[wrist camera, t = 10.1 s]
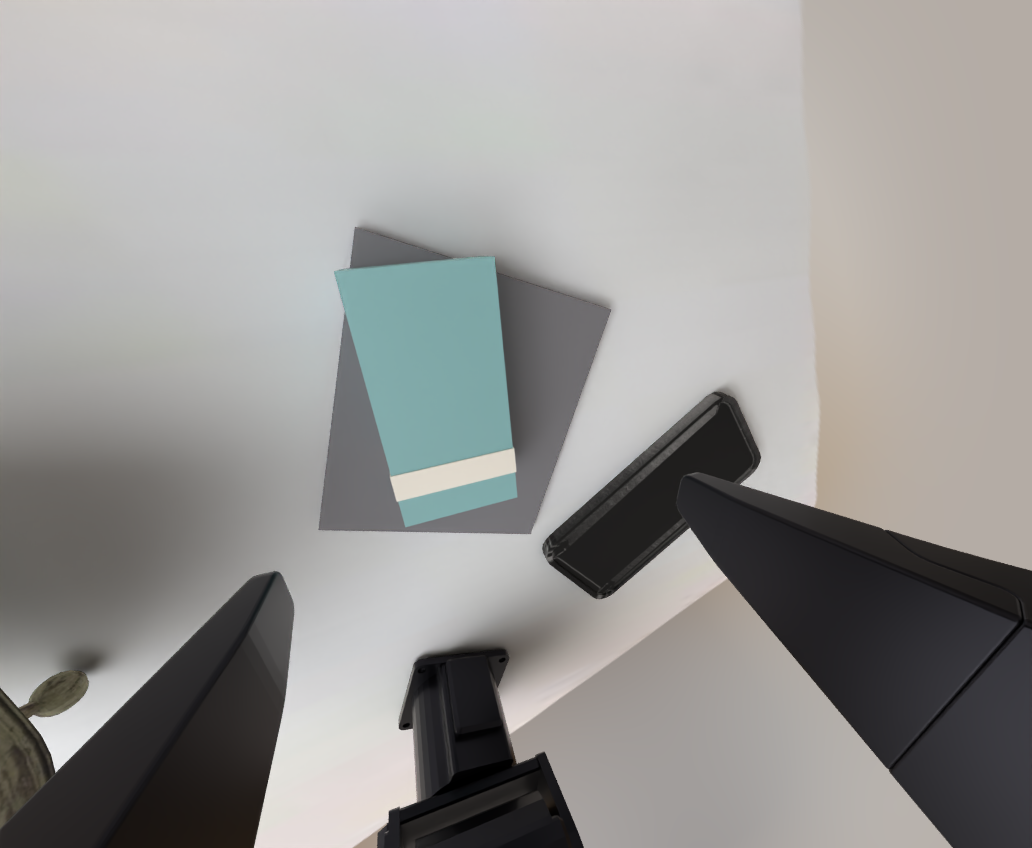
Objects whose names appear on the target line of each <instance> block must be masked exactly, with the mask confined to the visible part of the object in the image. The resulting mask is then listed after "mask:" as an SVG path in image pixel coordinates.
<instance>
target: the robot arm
mask: <svg viewBox="0 0 1032 848" xmlns="http://www.w3.org/2000/svg"><path fill="white" fill-rule="evenodd" d="M676 504H677V508H678V511H679V512H680V514H681V515H682V517H683V518H684V519H685V521H686V522H687V524H688V525H689V527H690V528H691V529H692V531H693V532H694V534H695V535H696V537H697V538H698V540H699V541H700V542H701V544H702V545H703V547H704V548H705V550H706V551H707V552H708V554H709V555H710V557H711V558H712V559H713V561H714V562H715V563H716V565H717V566H718V567H719V568H720V570H721V571H722V572H723V573H724V574H725V576H726V577H727V578H728V579H729V580H730V582H731V583H732V584H733V585H734V586H735V588H736V589H737V590H738V591H739V592H740V594H741V595H742V596H743V597H744V598H745V600H746V601H747V602H748V603H749V604H750V605H751V607H752V608H753V609H754V610H755V611H756V613H757V614H758V615H759V616H760V617H761V619H762V620H763V621H764V622H765V623H766V625H767V626H768V627H769V628H770V629H771V631H772V632H773V633H774V634H775V635H776V636H777V638H778V639H779V640H780V641H781V642H782V644H783V645H784V646H785V647H786V648H787V650H788V651H789V652H790V653H791V654H792V656H793V657H794V658H795V659H796V660H797V661H798V663H799V664H800V665H801V666H802V668H803V669H804V670H805V671H806V672H807V673H808V675H809V676H810V677H811V678H812V679H813V681H814V682H815V683H816V684H817V686H818V687H819V688H820V689H821V690H822V691H823V693H824V694H825V695H826V696H827V697H828V699H829V700H830V701H831V702H832V703H833V705H834V706H835V707H836V708H837V709H838V711H839V712H840V713H841V714H842V715H843V716H844V718H845V719H846V720H847V721H848V722H849V724H850V725H851V726H852V727H853V728H854V730H855V731H856V732H857V733H858V735H859V736H860V737H861V738H862V739H863V740H864V742H865V743H866V744H867V745H868V746H869V748H870V749H871V750H872V751H873V752H874V754H875V755H876V756H877V757H878V758H879V760H880V761H881V762H882V763H883V764H884V765H885V767H886V768H888V769H889V772H890V773H891V774H892V776H893V777H894V778H895V779H896V780H897V782H898V783H899V784H900V785H901V786H902V788H903V789H904V790H905V791H906V792H907V794H908V795H909V796H910V797H911V798H912V799H913V801H914V802H915V803H916V804H917V805H918V807H919V808H920V809H921V810H922V812H923V813H924V814H925V815H926V816H927V817H928V819H929V820H930V821H931V822H932V824H933V825H934V826H935V827H936V828H937V829H938V831H939V832H940V833H941V834H942V835H943V837H944V838H945V839H946V840H947V841H948V843H949V844H950V845H951V846H952V847H953V848H1032V571H1030V570H1027V569H1023V568H1019V567H1015V566H1012V565H1008V564H1004V563H1001V562H996V561H993V560H989V559H985V558H982V557H978V556H974V555H971V554H968V553H964V552H960V551H957V550H953V549H950V548H946V547H942V546H939V545H936V544H932V543H929V542H926V541H922V540H919V539H915V538H912V537H909V536H906V535H902V534H899V533H896V532H893V531H889V530H883V529H882V528H879V527H876V526H872V525H869V524H866V523H863V522H860V521H856V520H853V519H850V518H847V517H843V516H840V515H836V514H834V513H830V512H827V511H824V510H820V509H817V508H814V507H811V506H807V505H804V504H801V503H798V502H794V501H791V500H788V499H785V498H781V497H778V496H775V495H772V494H768V493H765V492H762V491H758V490H755V489H752V488H749V487H745V486H742V485H739V484H736V483H732V482H729V481H726V480H723V479H719V478H716V477H713V476H709V475H706V474H703V473H692V474H688V475H685V476H683V478H682V479H681V482H680V487H679V491H678V496H677V501H676ZM293 620H294V603H293V600H292V597H291V595H290V593H289V590H288V588H287V586H286V583H285V581H284V579H283V576H282V575H281V574H280V573H279V572H277V571H273V572H269V573H265V574H261V575H256V576H254V577H252V578H251V579H249V580H248V581H247V582H246V583H245V584H244V585H243V586H242V587H241V588H240V589H239V590H238V591H237V592H236V593H235V594H234V595H233V596H232V597H231V598H230V599H229V600H228V601H227V602H226V603H225V604H224V605H223V606H222V607H221V608H220V609H219V610H218V611H217V612H216V613H215V614H214V615H213V616H212V617H211V618H210V619H209V620H208V621H207V622H206V623H205V624H204V625H203V626H202V627H201V628H200V629H199V630H198V631H197V632H196V633H195V634H194V635H193V636H192V637H191V638H190V639H189V640H188V641H187V642H186V643H185V644H184V645H183V646H182V647H181V648H180V649H179V650H178V651H177V652H176V653H175V654H174V655H173V656H172V657H171V658H170V659H169V660H168V661H167V662H166V663H165V664H164V665H163V666H162V667H161V668H160V669H159V670H158V671H157V672H156V673H155V674H154V675H153V676H152V677H151V678H150V679H149V680H148V681H147V682H146V683H145V684H144V685H143V686H142V687H141V688H140V689H139V690H138V691H137V692H136V693H135V694H134V695H133V696H132V697H131V698H130V699H129V700H128V701H127V702H126V703H125V704H124V705H123V706H122V707H121V708H120V709H119V710H118V711H117V712H116V713H115V714H114V715H113V716H112V717H111V718H110V719H109V720H108V721H107V722H106V723H105V724H104V725H103V726H102V727H101V728H100V729H99V730H98V731H97V732H96V733H95V734H94V735H93V736H92V737H91V738H90V739H89V740H88V741H87V742H86V743H85V744H84V745H83V746H82V747H81V748H80V749H79V750H78V751H77V752H76V753H75V754H74V755H73V756H72V757H71V758H70V759H69V760H68V761H67V762H66V763H65V764H64V765H63V766H62V767H61V768H60V769H59V770H58V771H57V772H56V773H55V774H54V775H53V776H52V777H51V778H50V779H49V780H48V781H47V782H46V783H45V784H44V785H43V786H42V787H41V788H40V789H39V790H38V791H37V792H36V793H35V794H34V795H33V796H32V797H31V798H30V799H29V800H28V801H27V802H26V803H25V804H24V805H23V806H22V807H21V808H20V809H19V810H18V811H17V812H16V813H15V814H14V815H13V816H12V817H11V818H10V819H9V820H8V821H7V822H6V823H5V824H4V825H3V826H2V827H1V828H0V848H254V844H255V840H256V835H257V830H258V826H259V821H260V816H261V812H262V807H263V802H264V798H265V793H266V788H267V784H268V779H269V774H270V770H271V765H272V760H273V756H274V751H275V746H276V742H277V737H278V732H279V728H280V723H281V718H282V713H283V708H284V702H285V695H286V687H287V678H288V668H289V659H290V649H291V639H292V629H293ZM508 660H509V656H508V652H507V650H495V651H486V652H478V653H469V654H461V655H452V656H444V657H435V658H427V659H421V660H418V661H416V662H415V663H414V665H413V668H412V672H411V676H410V679H409V683H408V687H407V691H406V694H405V698H404V702H403V706H402V709H401V713H400V717H399V729H400V730H407V729H413V738H414V756H415V774H416V791H417V803H414V804H412V805H409V806H406V807H404V808H401V809H400V807H397V808H395V809H392V810H390V811H389V823H387V825H386V826H385V827H384V828H383V829H382V830H381V831H380V832H378V844H377V846H378V847H377V848H584V847H583V844H582V841H581V839H580V836H579V833H578V831H577V828H576V826H575V823H574V821H573V819H572V816H571V814H570V811H569V809H568V807H567V804H566V802H565V800H564V797H563V795H562V792H561V790H560V787H559V785H558V783H557V780H556V778H555V776H554V773H553V771H552V768H551V766H550V763H549V761H548V759H547V756H546V754H545V752H541V753H539V754H537V755H535V757H534V758H531V759H529V760H526V761H524V762H521V763H518V764H517V763H516V759H515V755H514V751H513V747H512V743H511V740H510V735H509V732H508V728H507V724H506V720H505V716H504V712H503V708H502V704H501V700H500V696H499V692H498V689H497V688H498V686H499V683H500V681H501V678H502V675H503V673H504V670H505V668H506V665H507V663H508Z"/></svg>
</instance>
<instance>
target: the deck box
mask: <svg viewBox="0 0 1032 848" xmlns="http://www.w3.org/2000/svg"><path fill="white" fill-rule="evenodd" d="M334 274H335V277H336V281H337V284H338V288H339V291H340V295H341V299H342V302H343V306H344V309H345V313H346V316H347V320H348V324H349V327H350V331H351V334H352V338H353V342H354V345H355V349H356V352H357V356H358V359H359V363H360V367H361V370H362V374H363V377H364V381H365V384H366V388H367V392H368V395H369V399H370V402H371V406H372V410H373V413H374V417H375V420H376V424H377V427H378V431H379V435H380V438H381V442H382V445H383V449H384V452H385V456H386V460H387V463H388V467H389V470H390V480H391V483H392V487H393V490H394V494H395V497H396V501H397V502H398V503H399V506H400V510H401V513H402V517H403V521H404V524H405V527H409V526H412V525H416V524H420V523H424V522H427V521H431V520H435V519H438V518H442V517H446V516H450V515H453V514H457V513H461V512H465V511H468V510H472V509H476V508H479V507H483V506H487V505H491V504H494V503H498V502H502V501H505V500H509V499H513V498H517V487H516V476H515V472H516V461H515V451H514V447H513V445H512V434H511V424H510V413H509V403H508V392H507V382H506V371H505V361H504V351H503V340H502V330H501V319H500V309H499V298H498V288H497V277H496V267H495V256H478V257H467V258H456V259H446V260H435V261H424V262H414V263H403V264H392V265H382V266H371V267H360V268H350V269H341V270H338V271H335V272H334Z"/></svg>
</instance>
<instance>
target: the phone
mask: <svg viewBox="0 0 1032 848" xmlns="http://www.w3.org/2000/svg"><path fill="white" fill-rule="evenodd" d="M760 459H761V456H760V452H759V450H758V448H757V446H756V443H755V441H754V439H753V437H752V434H751V432H750V430H749V428H748V426H747V423H746V421H745V419H744V417H743V414H742V412H741V410H740V408H739V405H738V403H737V401H736V400H735V398H733V397H731V396H728V395H726V394H724V393H721V392H714V393H712V394H710V395H708V396H707V397H705V398H704V399H703V400H702V401H701V402H700V403H699V404H697V405H696V406H695V407H694V408H693V409H692V410H691V411H690V412H688V413H687V414H686V415H685V416H684V417H683V418H682V419H681V420H679V421H678V422H677V423H676V424H675V425H674V426H673V427H672V428H670V429H669V430H668V431H667V432H666V433H665V434H664V435H662V436H661V437H660V438H659V439H658V440H657V441H656V442H655V443H653V444H652V445H651V446H650V447H649V448H648V449H647V450H646V451H644V452H643V453H642V454H641V455H640V456H639V457H638V458H637V459H635V460H634V461H633V462H632V463H631V464H630V465H629V466H628V467H626V468H625V469H624V470H623V471H622V472H621V473H620V474H619V475H617V476H616V477H615V478H614V479H613V480H612V481H611V482H609V483H608V484H607V485H606V486H605V487H604V488H603V489H602V490H600V491H599V492H598V493H597V494H596V495H595V496H594V497H593V498H591V499H590V500H589V501H588V502H587V503H586V504H585V505H584V506H582V507H581V508H580V509H579V510H578V511H577V512H576V513H575V514H573V515H572V516H571V517H570V518H569V519H568V520H567V521H566V522H564V523H563V524H562V525H561V526H560V527H559V528H558V529H556V530H555V531H554V532H553V533H552V534H551V535H550V536H549V537H548V538H547V539H546V540H545V542H544V544H543V553H544V555H545V557H546V559H547V561H548V563H549V564H550V565H551V566H553V567H554V568H555V569H557V570H558V571H559V572H561V573H562V574H563V575H565V576H566V577H567V578H568V579H570V580H571V581H572V582H574V583H575V584H576V585H578V586H579V587H580V588H582V589H583V590H584V591H586V592H587V593H588V594H590V595H591V596H592V597H594V598H596V599H603V598H606V597H608V596H610V595H612V594H613V593H614V592H615V591H617V590H618V589H619V588H620V587H621V586H622V585H624V584H625V583H626V582H627V581H628V580H629V579H631V578H632V577H633V576H634V575H635V574H636V573H638V572H639V571H640V570H641V569H642V568H643V567H644V566H646V565H647V564H648V563H649V562H650V561H651V560H653V559H654V558H655V557H656V556H657V555H658V554H660V553H661V552H662V551H663V550H664V549H665V548H667V547H668V546H669V545H670V544H671V543H672V542H673V541H675V540H676V539H677V538H678V537H679V536H680V535H682V534H683V533H684V532H685V531H686V530H687V529H689V528H690V527H689V525H688V524H687V522H686V521H685V519H684V518H683V517H682V515H681V514H680V512H679V511H678V508H677V504H676V501H677V496H678V491H679V487H680V482H681V479H682V478H683V476H685V475H688V474H692V473H703V474H706V475H709V476H713V477H716V478H719V479H723V480H726V481H729V482H732V483H736V484H739V485H740V484H741V483H742V482H743V481H744V480H746V479H747V478H748V477H749V476H750V475H751V474H752V473H753V472H754V471H755V470H756V469H757V467H758V465H759V463H760Z"/></svg>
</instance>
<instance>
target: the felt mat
mask: <svg viewBox="0 0 1032 848" xmlns="http://www.w3.org/2000/svg"><path fill="white" fill-rule="evenodd" d="M446 259H453V258H450V257H447V256H444V255H441V254H437V253H434V252H431V251H428V250H425V249H422V248H419V247H416V246H413V245H409V244H406V243H403V242H400V241H397V240H394V239H391V238H388V237H385V236H382V235H378V234H375V233H372V232H369V231H366V230H363V229H360V228H357V227H355V231H354V240H353V248H352V256H351V265H350V268H360V267H371V266H382V265H392V264H403V263H414V262H424V261H435V260H446ZM496 277H497V288H498V298H499V309H500V319H501V330H502V340H503V351H504V361H505V371H506V382H507V392H508V403H509V413H510V424H511V434H512V445H513V447H514V451H515V461H516V472H515V476H516V487H517V498H513V499H509V500H505V501H502V502H498V503H494V504H491V505H487V506H483V507H479V508H476V509H472V510H468V511H465V512H461V513H457V514H453V515H450V516H446V517H442V518H438V519H435V520H431V521H427V522H424V523H420V524H416V525H412V526H409V527H405V524H404V521H403V517H402V513H401V510H400V506H399V503H398V502H397V501H396V497H395V494H394V490H393V487H392V483H391V480H390V470H389V467H388V463H387V460H386V456H385V452H384V449H383V445H382V442H381V438H380V435H379V431H378V427H377V424H376V420H375V417H374V413H373V410H372V406H371V402H370V399H369V395H368V392H367V388H366V384H365V381H364V377H363V374H362V370H361V367H360V363H359V359H358V356H357V352H356V349H355V345H354V342H353V338H352V334H351V331H350V327H349V324H348V320H347V316H346V313H345V315H344V323H343V331H342V340H341V348H340V356H339V364H338V373H337V381H336V389H335V398H334V406H333V414H332V423H331V431H330V439H329V448H328V456H327V464H326V473H325V481H324V489H323V498H322V506H321V514H320V522H319V530H344V531H398V532H451V533H505V534H531V531H532V528H533V526H534V523H535V520H536V517H537V514H538V512H539V509H540V506H541V503H542V501H543V498H544V495H545V492H546V489H547V487H548V484H549V481H550V478H551V476H552V473H553V470H554V467H555V464H556V462H557V459H558V456H559V453H560V451H561V448H562V445H563V442H564V439H565V437H566V434H567V431H568V428H569V426H570V423H571V420H572V417H573V414H574V412H575V409H576V406H577V403H578V401H579V398H580V395H581V392H582V389H583V387H584V384H585V381H586V378H587V376H588V373H589V370H590V367H591V364H592V362H593V359H594V356H595V353H596V351H597V348H598V345H599V342H600V339H601V337H602V334H603V331H604V328H605V326H606V323H607V320H608V317H609V314H610V312H611V309H608V308H605V307H602V306H599V305H596V304H592V303H589V302H586V301H583V300H580V299H577V298H574V297H571V296H568V295H565V294H561V293H558V292H555V291H552V290H549V289H546V288H543V287H540V286H537V285H534V284H530V283H527V282H524V281H521V280H518V279H515V278H512V277H509V276H506V275H503V274H499V273H496Z"/></svg>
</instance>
